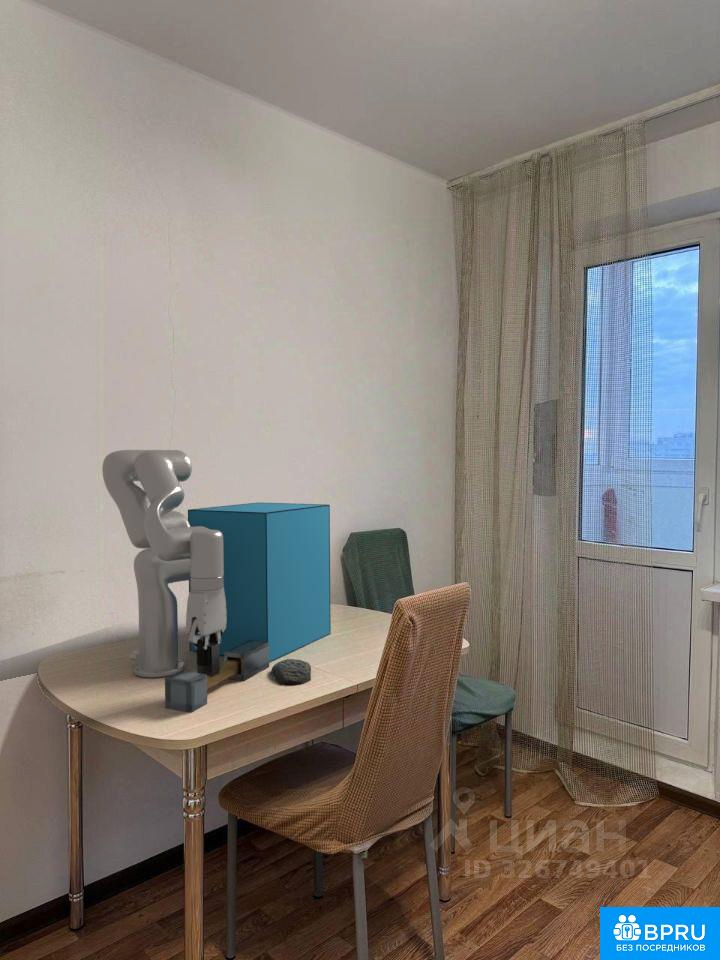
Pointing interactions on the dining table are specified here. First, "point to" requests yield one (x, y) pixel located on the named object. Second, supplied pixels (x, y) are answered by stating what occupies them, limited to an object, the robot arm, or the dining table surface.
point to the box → (273, 573)
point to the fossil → (291, 672)
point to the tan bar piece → (219, 666)
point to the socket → (186, 691)
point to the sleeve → (249, 658)
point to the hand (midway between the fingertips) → (208, 662)
